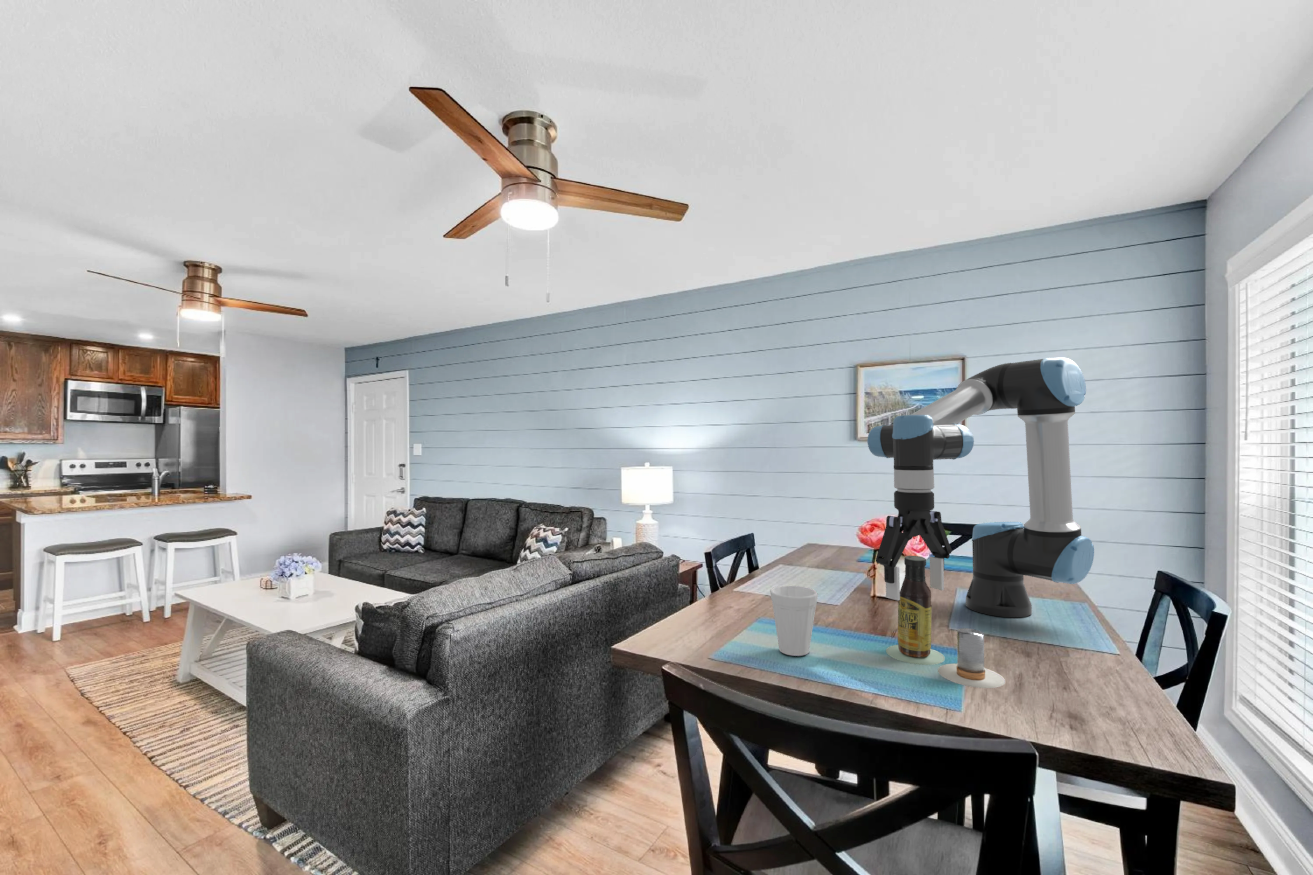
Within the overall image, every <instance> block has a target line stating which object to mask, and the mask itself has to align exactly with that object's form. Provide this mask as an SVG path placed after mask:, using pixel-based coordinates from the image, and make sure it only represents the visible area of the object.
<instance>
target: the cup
mask: <svg viewBox="0 0 1313 875" xmlns="http://www.w3.org/2000/svg"><path fill="white" fill-rule="evenodd" d="M769 592H770V593H769V594H770V600H771V603H772V610H773V617H774V623H775V630H776V637H777V643H778V649H779V652H781V653H782V654H785V655H787V656H793V657H794V656H795V657H796V656H797V657H801V656H805V655H808V654H809V653H810V648H811V643H812V634H813V628H814V621H815V613H816V608H817V603H818V598H819V596H818V595H819V594H818V592H817V590H816V589H813V588H810V587H806V586H801V585H800V586H799V585H778V586H774V587H772V588H771V589H770V590H769Z"/></svg>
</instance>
